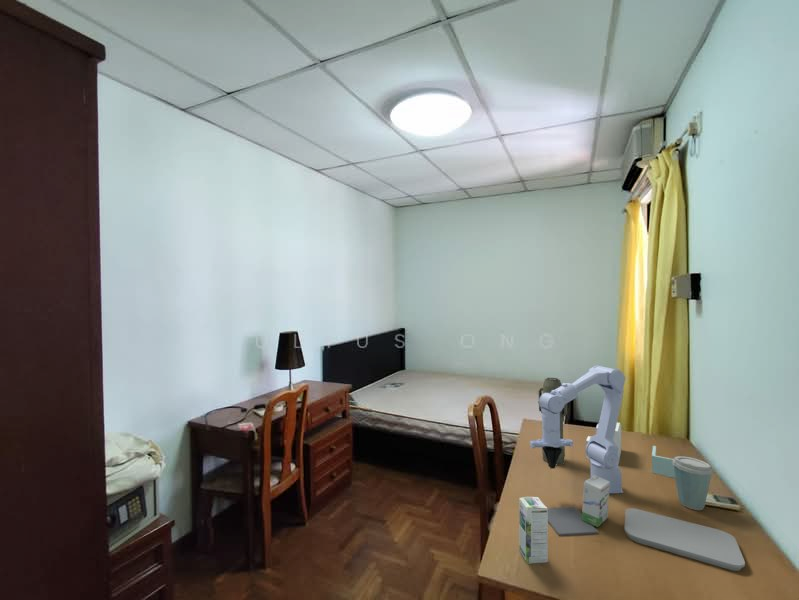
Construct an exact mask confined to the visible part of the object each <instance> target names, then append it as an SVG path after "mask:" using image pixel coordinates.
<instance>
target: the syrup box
mask: <svg viewBox="0 0 799 600" xmlns="http://www.w3.org/2000/svg"><path fill="white" fill-rule="evenodd" d="M518 499H519V500H518V501H519V503H518V505H519V511H518V512H519V514H518V515H519V516H518V520H519V521H518V525H519V526H518V532H519V533H518V537H519V538H518V544H519V546H518V549H519V552H520V554H521V555H522V557H523V559H524V560H525V562H526V563H527V565H528V564H529V565H530V564H542V563H543V564H544V563H548V562H549V560H548V559H549V555H548V553H549V552H548V550H549V542H548V540H549V537H548V536H549V534H548V531H549V529H548V527H549V525H548V524H549V523H548V508H549V507H547V506H546V505H545V503H544V502H543V501H542V500H541V499H540V498H539V497H538V496H523V497H519V498H518Z"/></svg>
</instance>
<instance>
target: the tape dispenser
mask: <svg viewBox="0 0 799 600" xmlns="http://www.w3.org/2000/svg"><path fill="white" fill-rule="evenodd" d="M598 425H599V423H597V424H596V427H595V435H596V434H597V429H598ZM590 437H592V436H589V435H588V436H587V438H586V440H585V447H586V446H587V444H588V443H589V440H590ZM613 441H614V442H615V444H616V445H617V447H618V463H617V465H618V466H619V463H620V459H621V454H622V424H621V422H618V421H617V424H616V429H615V433H614V438H613ZM586 459H587V460H589V457H588V456H587V455H586Z"/></svg>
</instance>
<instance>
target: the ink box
mask: <svg viewBox="0 0 799 600" xmlns="http://www.w3.org/2000/svg"><path fill="white" fill-rule="evenodd" d="M609 488H610V481H607V480H605V479H603V478H600V477H598V476H595V475H594V476H592V477H591V476H590V477H589V478H588V479H586V480H585V481H584V482H583V493H582V494H583V495H582V512H581V514H582V520H583V521H586V522H588V523H590V524H591V525H592V526H593V527H594V526H595V527H596V528H598V527H599V526H601V524H603V523H604V522H605V521H606V520H607V519H608V517H609V499H610V498H609V497H610V494H609Z"/></svg>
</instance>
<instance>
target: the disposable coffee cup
mask: <svg viewBox="0 0 799 600" xmlns="http://www.w3.org/2000/svg"><path fill="white" fill-rule="evenodd" d="M672 459H673V461H672V463H673V466H674V472H675V478H674V479H675V485H676V489H677V490H676V491H677V498H678V502H679V504H681V506H683V507H686V508H688V509H691V510H695V511H702V510H703V509H704V507H706V502H707V497H708V492H709V488H710V483H711V478H712V475H713V474H714V469H713V467H712V466H711V465H710V464H709V463H707V462H705V461H703V460H701V459H697V458H695V457H689V456H679V455H678V456H675V457H674V458H672Z"/></svg>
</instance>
